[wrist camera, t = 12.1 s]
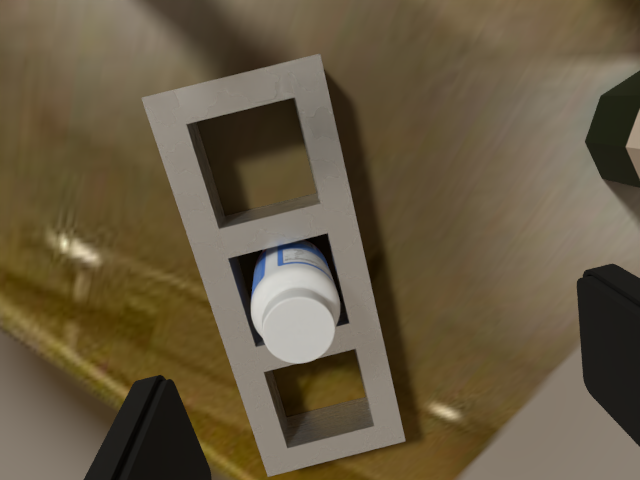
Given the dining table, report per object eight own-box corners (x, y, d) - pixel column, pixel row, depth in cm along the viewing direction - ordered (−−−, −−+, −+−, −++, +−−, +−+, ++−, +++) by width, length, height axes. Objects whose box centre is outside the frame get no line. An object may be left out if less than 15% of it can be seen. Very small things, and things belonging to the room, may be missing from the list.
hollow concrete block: (156, 98, 31) (141, 97, 27) (315, 59, 31) (320, 53, 27) (268, 443, 39) (267, 476, 35) (394, 411, 39) (405, 441, 36)
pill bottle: (282, 318, 36) (283, 394, 27) (239, 262, 34) (225, 323, 25) (343, 278, 35) (365, 342, 26) (302, 220, 34) (311, 266, 25)
